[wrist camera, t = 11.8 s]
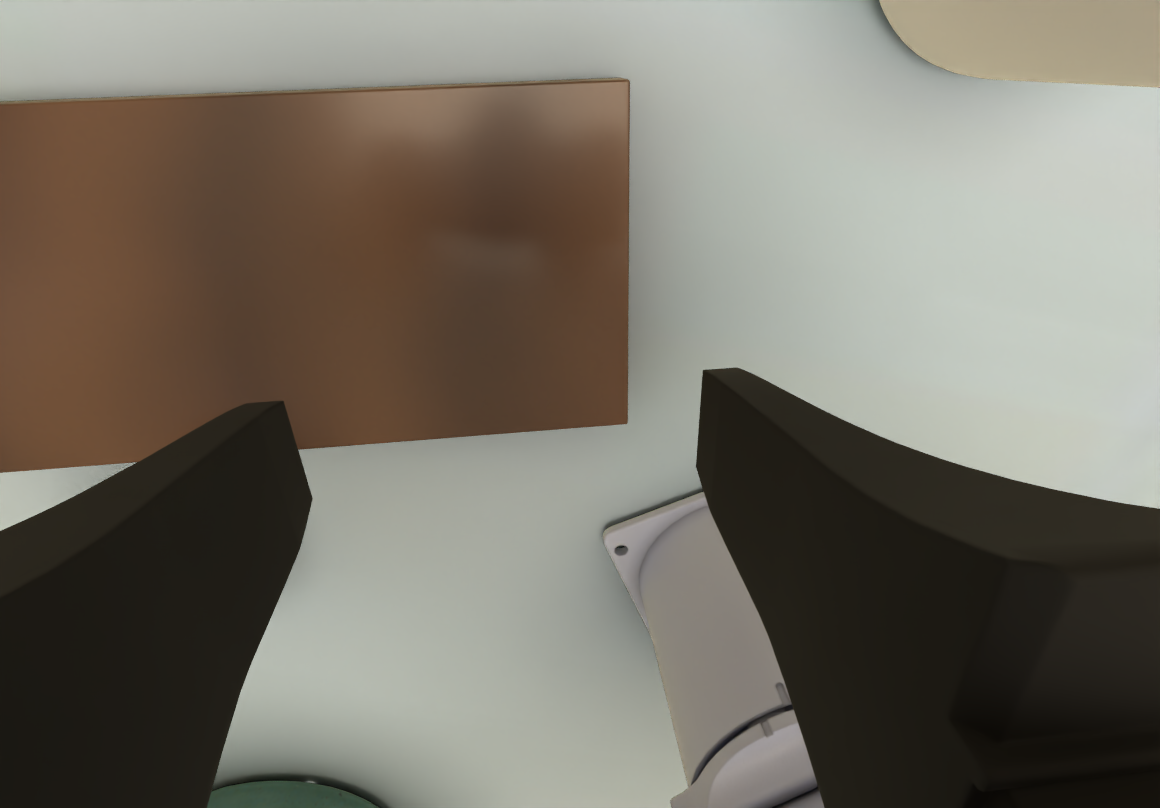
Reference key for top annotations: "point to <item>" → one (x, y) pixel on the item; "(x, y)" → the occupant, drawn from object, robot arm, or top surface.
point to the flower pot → (284, 796)
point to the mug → (1035, 38)
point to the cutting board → (312, 265)
